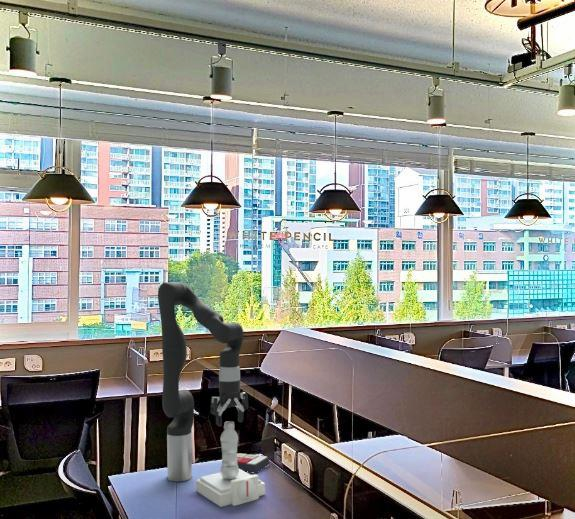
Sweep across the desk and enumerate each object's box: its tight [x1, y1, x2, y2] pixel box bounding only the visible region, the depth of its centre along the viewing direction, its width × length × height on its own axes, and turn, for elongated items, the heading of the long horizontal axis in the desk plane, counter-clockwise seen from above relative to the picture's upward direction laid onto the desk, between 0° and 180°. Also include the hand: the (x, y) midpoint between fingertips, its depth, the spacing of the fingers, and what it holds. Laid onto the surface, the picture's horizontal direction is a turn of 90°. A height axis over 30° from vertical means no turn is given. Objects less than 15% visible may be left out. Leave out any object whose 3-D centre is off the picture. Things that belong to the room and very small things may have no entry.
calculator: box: [237, 452, 270, 474], centre depth 241 cm, size 11×4×15 cm
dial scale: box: [195, 469, 266, 507], centre depth 212 cm, size 21×18×8 cm
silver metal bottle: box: [219, 420, 239, 480], centre depth 214 cm, size 6×7×20 cm
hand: (229, 423), depth 214 cm, fingers open, 8 cm apart
